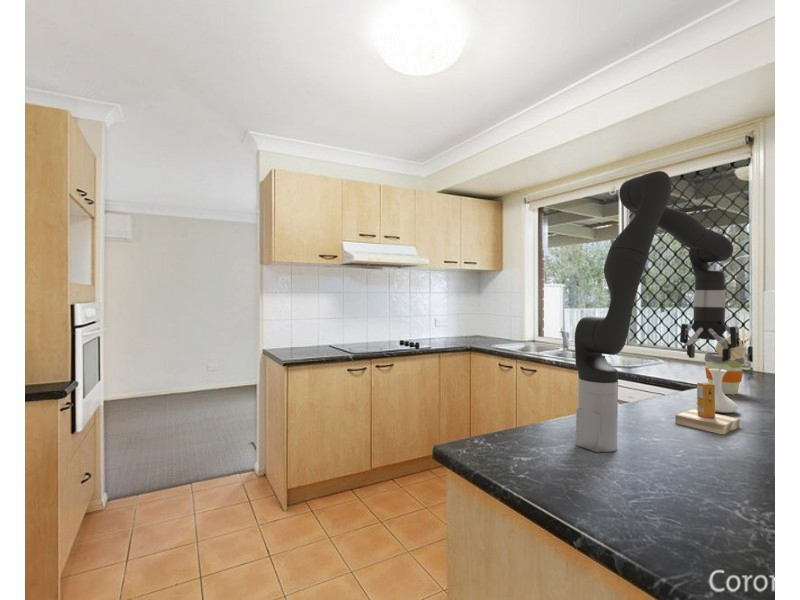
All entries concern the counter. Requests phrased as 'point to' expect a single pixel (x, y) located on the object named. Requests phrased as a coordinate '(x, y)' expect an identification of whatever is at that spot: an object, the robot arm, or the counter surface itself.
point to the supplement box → (706, 400)
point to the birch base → (707, 422)
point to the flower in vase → (721, 400)
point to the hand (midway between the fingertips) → (708, 359)
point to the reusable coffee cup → (730, 377)
